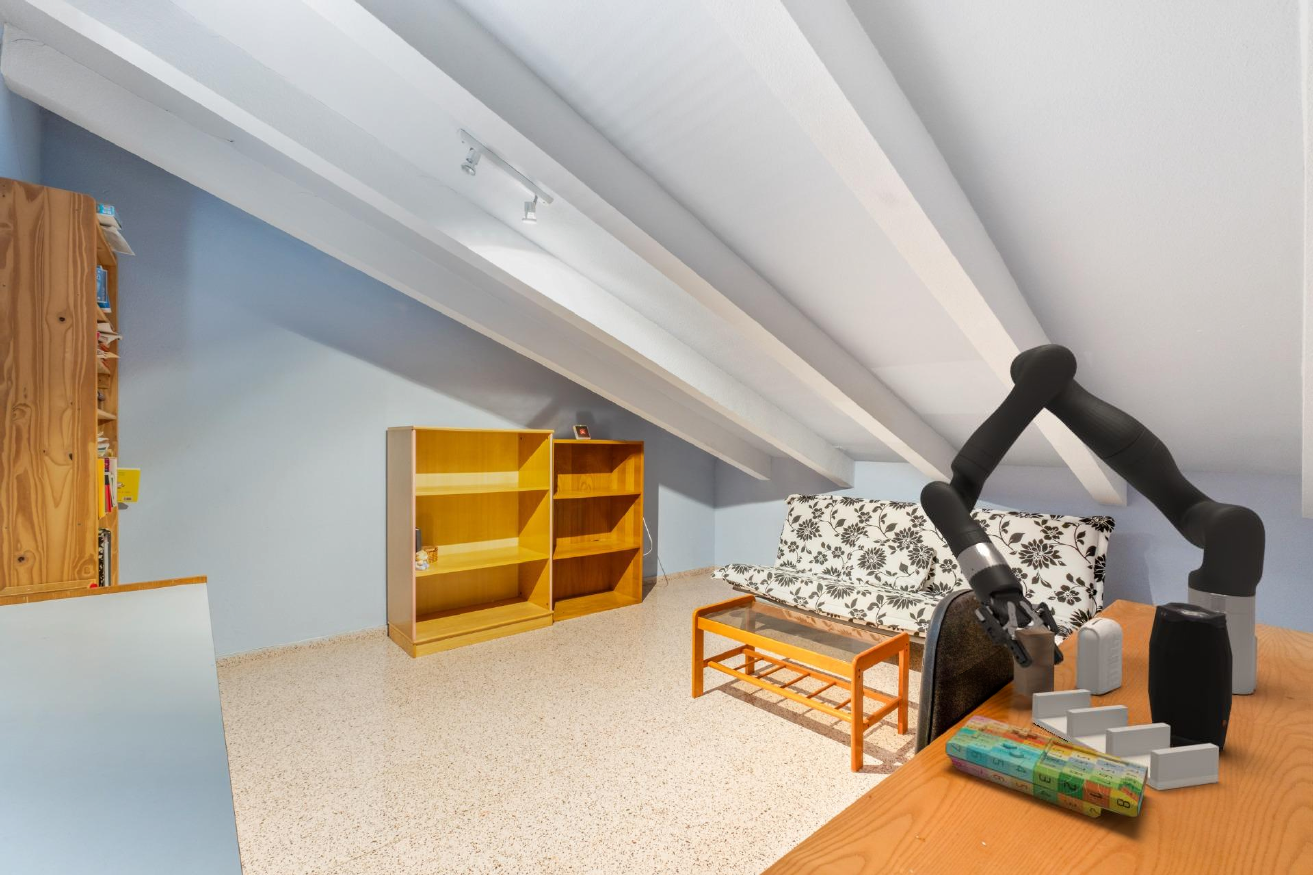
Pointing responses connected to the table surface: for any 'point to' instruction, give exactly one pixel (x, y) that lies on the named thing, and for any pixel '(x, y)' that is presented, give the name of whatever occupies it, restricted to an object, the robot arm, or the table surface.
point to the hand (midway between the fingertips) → (1043, 663)
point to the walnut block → (1036, 662)
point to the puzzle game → (1048, 767)
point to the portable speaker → (1190, 674)
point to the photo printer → (1099, 656)
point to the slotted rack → (1125, 739)
